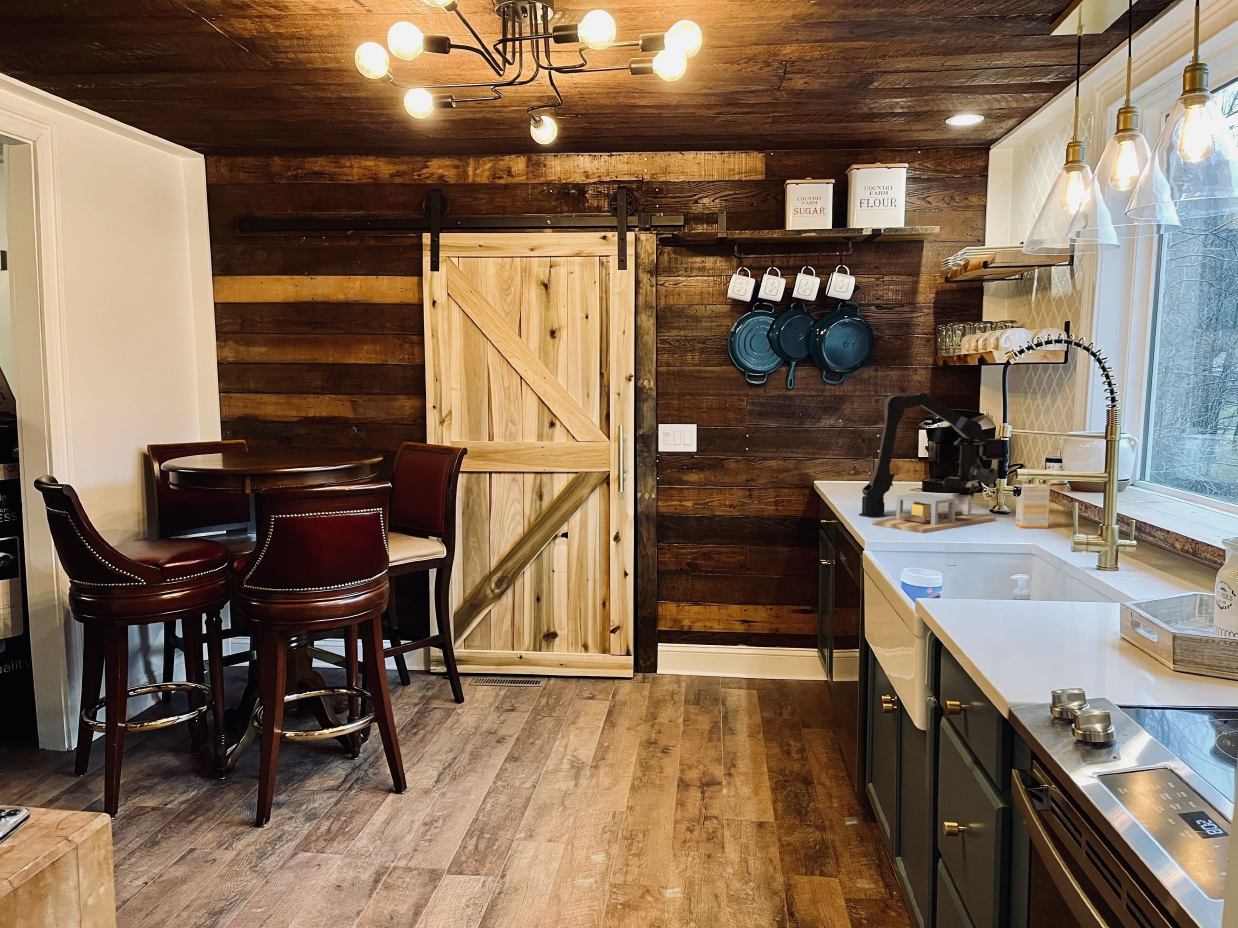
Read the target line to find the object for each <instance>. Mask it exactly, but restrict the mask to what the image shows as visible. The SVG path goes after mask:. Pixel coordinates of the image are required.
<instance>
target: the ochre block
mask: <svg viewBox="0 0 1238 928" xmlns="http://www.w3.org/2000/svg"><path fill="white" fill-rule="evenodd" d="M931 505H932V504H930V503H922V502H920V503H914V504H913V503H911V513H910V514H911V515H918V516H925V517H926V518H928V517H931Z"/></svg>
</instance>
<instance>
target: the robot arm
mask: <svg viewBox="0 0 1238 928" xmlns="http://www.w3.org/2000/svg"><path fill="white" fill-rule="evenodd" d="M883 403H884V404H883V417H884V418H883V419H884V426H883V430H882V435H881V440H880V447H879V451H878V457H877V462H876V465H875V467H874V469H873V470H872V473H871V476H870V477H869V481H868V483H867V485H865V486H863V488H862V490H861V491H862V494H863V495H862V497H861V498H862V499H861V500H862V501H861V503H862V504H861V512H860V513H858V515H859V516H863V517H869V518H880V517H886V516H887V513H885V502H884V500H885V497H884V496H885V495H886V493H888V492H889V491H890V488H891V487H893V480H894V478H895V473H893V472H891V467H890V466H891V462H892V457H893V452H894V446H895V441H896V436H897V431H898V426H899V423H900V422H901V420H902V417H903V415H904V413H905V411H906V410H907V409H911V408H915V407H919V406H921V407H922V408H924V409H925V410H927V411H929V412H930V413H932V414H933V415H935V416H937V417H938V418H940V419H941V420H943V421H945V422H946V423H948V424H949V425H950V426H951V427H952V428H953V429H954V430H955V431H956V432H957V433H958V434H959V435H960V436H962V437H963V438H965V439H963V438H962V437H958V439H957V440H955V441H954V442H953V445H955V446H959V448H960V449H959V461H957V462H956V466H959V469H958V474H956V475H955V476H948V477H947V476H946V477H945V478H944V479H943V487H948V488H949V487H951V488H955V490H956V491H957V494H963V495H971V496H972V500H973V498H974V496H975V493H976V491H977V490H979V489H981V488H982V487H983V486H982V485H979V483H981V484H983V485H992V484H994V481H995V480H997V479H998V471H997V468H994V467H990V468H983V463H982V462H980V461H979V459H980V457H982V459H983V460H989V461H990V460H992V461H993V460H998V461H999V460H1001V461H1002V460H1004V459H1003V455H1002V441H1001V439H1002V438H987V436H986V435H985V434H984V432H983V427H982V425H981V424H980V422H978V421H975V420H973V419H970V418H969V417H965V416H963V415H961V414H958V413H956V412H955V411H953V410H951V408H948V407H946V406H945V405H943V404H942V403H941V402H939V401H938V400H935V399H934V398H932V397H931V396H930V395H928V394H927V393H925V392H917V393H915V394H909V395H904V396H903V395H902V396H899V395H890V396H887V397H886V399H885V400H884V402H883ZM966 439H968V440H966ZM969 439H970V440H969ZM974 441H975V442H980V443H974ZM1005 455H1006V454H1005ZM1005 455H1004V457H1005Z"/></svg>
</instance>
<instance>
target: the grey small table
mask: <svg viewBox="0 0 1238 928" xmlns="http://www.w3.org/2000/svg"><path fill="white" fill-rule="evenodd" d="M904 501H909V502H913V503H912V504H914V503H925V504H931V524H932V525H938V511H939V505H942V504H948V509H947V510H948V522H955V498H951V497H947V496H942V495H941V496H940V495H933V494H924V493H910V494H900V495H896V506H895V509H896V510H895V517H896V519H899V518H900V513H903V511H904Z"/></svg>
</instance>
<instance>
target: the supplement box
mask: <svg viewBox="0 0 1238 928" xmlns="http://www.w3.org/2000/svg"><path fill="white" fill-rule="evenodd" d="M1021 484H1022V493H1021V495H1020V496H1018V497H1017V496H1016V497H1015V498H1016V502H1015V506H1016V507H1015V526H1016V527H1018V528H1021V529H1049V519H1050V496H1051V495H1050V494H1051V493H1050V491H1051V489H1050V488H1051V486H1050V485H1047V484H1046V483H1021Z"/></svg>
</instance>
